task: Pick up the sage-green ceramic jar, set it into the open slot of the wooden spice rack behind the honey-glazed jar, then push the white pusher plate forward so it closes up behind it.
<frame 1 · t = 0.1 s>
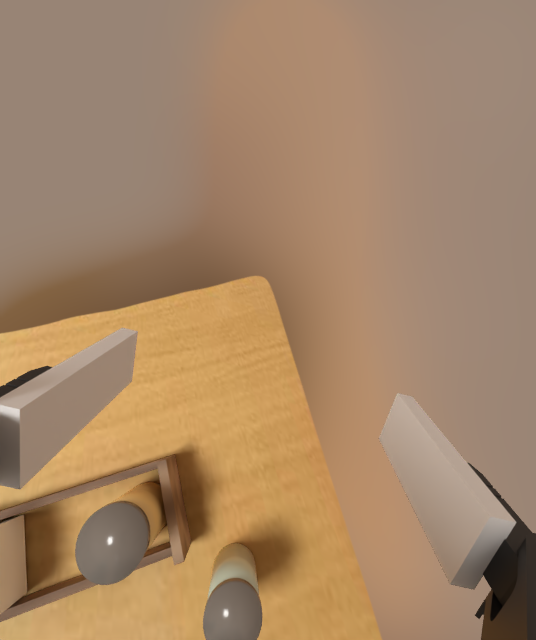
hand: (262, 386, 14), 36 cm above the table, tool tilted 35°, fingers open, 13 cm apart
amber jar: (146, 509, 42), resting in wooden spice rack
wooden spice rack: (89, 529, 41), on the table
sage jar: (234, 568, 41), on the table
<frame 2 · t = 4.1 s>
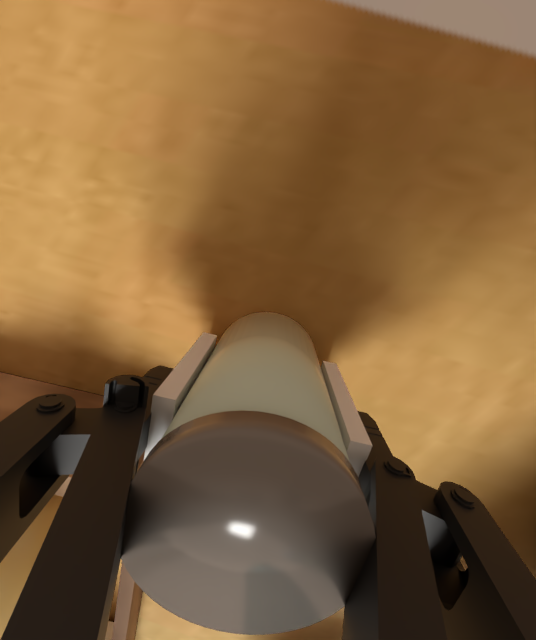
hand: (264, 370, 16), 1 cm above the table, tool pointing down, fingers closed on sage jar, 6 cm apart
amber jar: (76, 456, 20), resting in wooden spice rack
wooden spice rack: (71, 538, 22), on the table
sage jar: (265, 360, 17), on the table, touching gripper
when the fingers open (3 cm above the table, at t = 11.3 s): sage jar drops 1 cm, resting in wooden spice rack.
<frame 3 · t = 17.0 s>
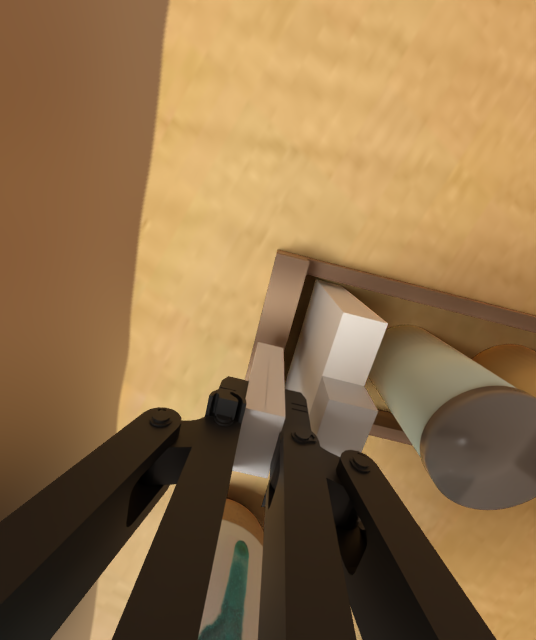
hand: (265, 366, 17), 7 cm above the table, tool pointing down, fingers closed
pusher plate: (321, 370, 18), point 6 cm above the table, slide at 0.4 cm, touching gripper
vase: (221, 516, 30), on the table
amber jar: (501, 383, 24), resting in wooden spice rack
wooden spice rack: (412, 361, 24), on the table
sage jar: (401, 359, 24), resting in wooden spice rack
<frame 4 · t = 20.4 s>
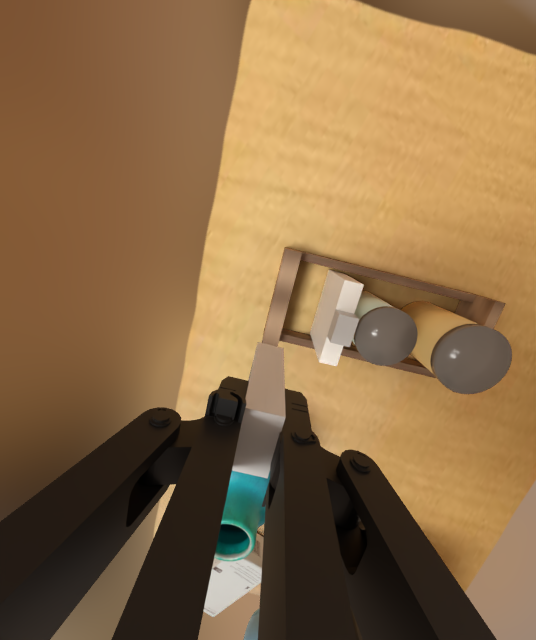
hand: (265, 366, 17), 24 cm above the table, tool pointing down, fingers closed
pusher plate: (333, 315, 34), point 6 cm above the table, slide at 3.4 cm
vase: (248, 419, 46), on the table
skincare box: (253, 543, 49), point 3 cm above the table
amber jar: (417, 325, 41), resting in wooden spice rack
wooden spice rack: (364, 312, 40), on the table
sage jar: (358, 311, 40), resting in wooden spice rack
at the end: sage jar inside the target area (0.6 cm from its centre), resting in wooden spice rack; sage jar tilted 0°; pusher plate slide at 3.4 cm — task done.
